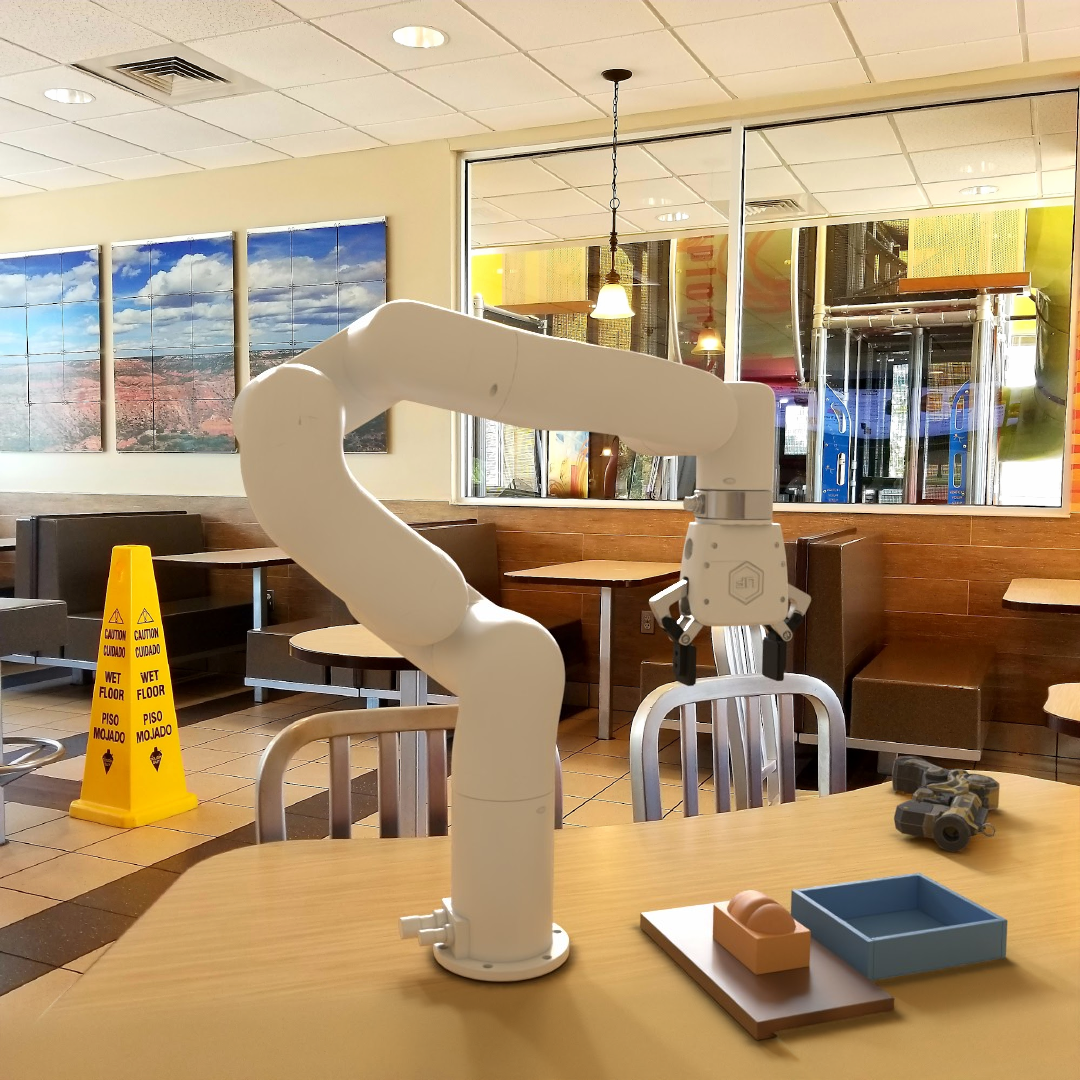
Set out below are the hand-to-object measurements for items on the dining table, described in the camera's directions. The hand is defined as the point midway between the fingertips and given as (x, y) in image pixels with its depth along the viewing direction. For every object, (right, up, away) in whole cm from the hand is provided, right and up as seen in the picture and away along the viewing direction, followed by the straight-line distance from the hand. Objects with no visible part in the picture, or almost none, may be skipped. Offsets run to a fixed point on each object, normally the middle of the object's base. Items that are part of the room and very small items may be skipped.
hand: (729, 680), depth 107 cm
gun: (+33, -23, +33) cm, 52 cm away
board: (+1, -25, -10) cm, 26 cm away
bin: (+15, -25, -5) cm, 29 cm away
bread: (+1, -23, -10) cm, 25 cm away
